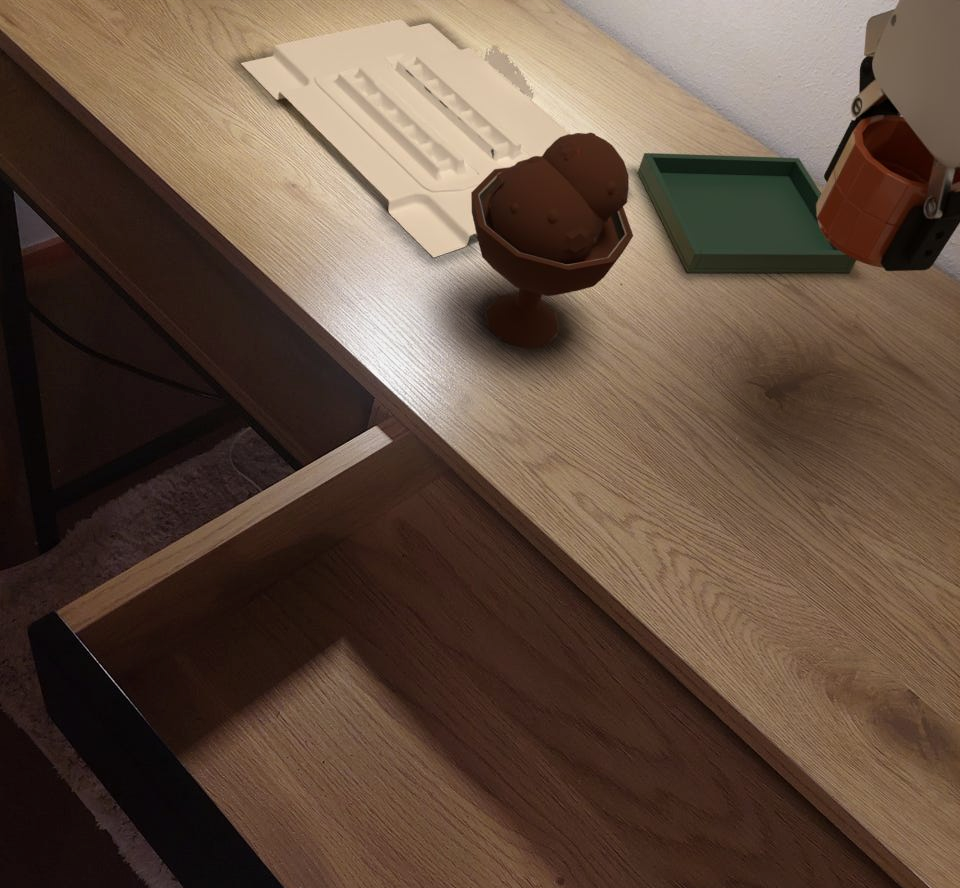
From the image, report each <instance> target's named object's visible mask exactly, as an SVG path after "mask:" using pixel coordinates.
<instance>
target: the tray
mask: <svg viewBox="0 0 960 888" xmlns="http://www.w3.org/2000/svg"><path fill="white" fill-rule="evenodd" d="M500 49H501V48H500V47H499V46H498V45H497V44H495V45H494V44H493V45H491V47H490V48H486V49H485V55H484V57H483V53H481V55H480V54H479V53H478V52H477V51H476V50H475V49H473V47H466V48H462V49H460V48H459V47H458V46H456V45H455V43H453V42H452V41H450V40H449V38H447V37H446V36H445V35H444V34H443V33H442V32H441V31H439V30H438V29H437V28H436V27H435V26H433V25H432V24H431V23H430V22H428V23H423V24H419V25H413V26H409V24H407V23H406V22H405V21H404V20H403V19H401V18H399V19H396V20H395V19H394V20H390V21H384V22H380V23H376V24H371V25H366V26H365V25H364V26H361V27H360V26H359V27H356V28H351V29H346V30H342V31H337V32H331V33H327V34H323V35H322V34H321V35H318V36H313V37H306V38H303V39H298V40H293V41H289V42H283V43H279V44H275V46H274V48H273V53H272V55H271V56H268V57H263V58H257V59H253V60H248V61H245V62H240V64H241V66H243V68H244V69H245V70H246V71H247V72H249V74H250V75H251V76H253V78H254V79H255V80H256V81H257V82H258V84H260V85H261V86H262V87H263V88H264V89H265V90H266V91H267V92H268V93H269V94H270V95H271V96H272V97H273V98H274V99H275V100H276V101H278V100H283V99H287V101H288V102H289V103H290V104H291V105H292V106H293V107H294V108H295V109H296V110H297V111H298V112H299V113H300V114H302V116H303V117H304V118H305V119H307V121H308V122H309V123H310V125H313V126H314V128H315V129H316V130H317V131H318V132H320V134H322V136H323V137H324V138H325V139H326V140H327V141H328V142H330V144H331V145H332V146H334V148H335V149H337V151H338V152H339V153H340V154H342V156H344V158H345V159H346V160H348V162H349V163H350V164H352V166H353V167H355V169H356V170H358V172H359V173H360V174H361V175H362V176H363V177H364V178H365V179H366V180H367V181H368V182H369V183H370V184H371V185H372V186H373V187H374V188H375V189H376V190H377V191H379V192H380V193H381V195H383V196H384V197H385V199H386V200H388V207H387V208H388V209H387V210H388V213H389V214H390V216H391V217H392V218H393V219H395V221H396V222H397V223H398V224H399V226H401V227H402V228H403V229H404V230H405V231H406V232H407V233H408V234H409V235H410V236H411V237H412V238H413V239H414V240H415V241H416V242H417V243H418V244H419V245H420V246H421V247H422V248H423V249H424V250H425V251H426V252H427V253H428V254H429V255H430V256H431V257H432V258H437V257H440V256H443V255H445V254H447V253H452V252H454V251H457V250H459V249H462V248H463V249H464V248H465V247H467V246H468V244H469V240H470V237H471V236H473V235H477V234H476V230H475V225H474V221H473V216H472V202H471V192H472V191H473V190H474V189H475V188H476V187H477V186H478V185H479V184H480V183H481V182H482V181H483V180H484V179H485V178H486V177H487V176H488V175H489V174H490V173H491V172H492V171H493V170H494V169H500V168H507V167H511V166H514V165H515V164H516V163H517V162H520V161H523V160H526V159H530V158H531V157H534V156H543V154H544V153H545V151H546V150H547V148H549V147H550V146H551V145H552V144H553V143H554V141H556V140H557V139H558V138H560V137H562V136H565V135H568V134H571V133H570V132H569V131H568V130H567V129H565V127H563V126H562V125H561V124H560V122H558V121H557V120H555V119H554V118H553V117H552V116H551V115H550V114H548V113H547V112H546V111H545V110H544V109H543V108H541V106H539V105H538V104H537V103H535V101H534V100H533V98H534V92H532V91H533V89H532V88H533V87H532V86H531V85H529V84H528V83H527V79H526V76H524V73H523V72H522V71H521V70H520V68H519V67H518V65H515V63H514V61H512V62H511V60H510V58H509V57H508V56H509V54H506V53H505V52H501V51H500Z"/></svg>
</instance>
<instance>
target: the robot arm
mask: <svg viewBox="0 0 960 888" xmlns="http://www.w3.org/2000/svg"><path fill="white" fill-rule="evenodd" d="M863 56H865V57H864V58H863V59H862V61H861V62H860V65H859V80H858V81H859V85H858V94H857V95H856V96H855V97H854V98H853V100H852V101H851V104H850V115H851V117H852V118H854V119H851V120H850V122H849V125H848V126H847V128H846V131H845V133H844V135H843V137H842V138H841V140H840V142H839V144H838V146H837V148H836V150H835V152H834V154H833V156H832V158H831V160H830V162H829V164H828V166H827V168H826V170H825V172H824V174H823V179H824V180H825V181H826V183H827V182H828V180H829V178H830V176H831V174H832V172H833V170H834V168H835V166H836V164H837V162H838V160H839V158H840V156H841V154H842V152H843V150H844V148H845V146H846V144H847V142H848V140H849V138H850V136H851V134H852V132H853V130H854V129H855V128H856V126H857V125H858V124H859V122H860V121H861V120H862V119H865V118H868V117H871V116H874V115H897V116H901V117H903V118H904V119H905V121H906V122H907V123H908V124H909V126H910V127H911V128H912V130H913V131H914V132H915V134H916V135H917V136H918V137H919V139H920V140H921V141H922V143H923V144H924V145H925V147H926V148H927V149H928V150H929V152H930V153H931V154H932V155H933V156H934V161H933V165H932V170H931V174H930V179H929V183H928V188H927V192H926V196H925V201H924V205H923V206H913V208H911V209H910V211H909V213H908V214H907V216H906V218H905V219H904V221H903V223H902V224H901V226H900V228H899V229H898V231H897V233H896V234H895V236H894V238H893V240H892V241H891V243H890V245H889V246H888V248H887V250H886V251H885V253H884V255H883V256H882V259H881V265H882V266H883V269H884V270H885V271H887V272H906V271H907V272H911V271H912V272H913V271H915V272H917V271H919V272H920V271H927V270H929V269H930V268H931V267H932V266H933V265H934V264H935V262H936V261H937V259H938V258H939V256H940V254H941V253H942V252H943V250H944V248H945V247H946V245H948V242H949V241H950V239H951V237H952V236H953V235H954V233H955V232H956V230H957V228H958V227H959V225H960V191H957V192H953V193H950V190H951V186H952V182H953V177H954V173H955V169H960V0H898V2H897V3H896V6H895V8H893V9H891V10H887V11H885V12H882V13H878V14H875V15H872V16H871V17H869V19H868V20H867V22H866V26H865V37H864V50H863Z"/></svg>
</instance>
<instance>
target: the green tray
mask: <svg viewBox="0 0 960 888" xmlns="http://www.w3.org/2000/svg"><path fill="white" fill-rule="evenodd" d="M637 173H638V176H639V178H640V180H641V182H642V184H643V186H644V188H645V190H646V192H647V194H648V196H649V199H650V200H651V203H652V204H653V206H654V208H655V210H656V213H657V214H658V216H659V218H660V221H661V222H662V225H663V226H664V229H665V230H666V233H667V235H668V237H669V239H670V241H671V243H672V245H673V247H674V248H675V251H676V254H677V255H678V257H679V259H680V261H681V263H682V265H683V267H684V270H685V271H686V273H687V274H689V273H692V274H693V273H695V274H696V273H697V274H698V273H699V274H700V273H703V274H704V273H705V274H707V273H709V274H711V273H713V274H714V273H715V274H717V273H718V274H719V273H720V274H721V273H726V274H728V273H729V274H730V273H732V274H736V273H737V274H739V273H740V274H741V273H745V274H746V273H747V274H748V273H749V274H750V273H755V274H757V273H758V274H759V273H764V274H765V273H766V274H768V273H769V274H770V273H772V274H775V273H793V274H795V273H798V274H799V273H801V274H802V273H807V274H809V273H813V274H815V273H816V274H817V273H819V274H820V273H829V274H830V273H835V274H837V273H838V274H839V273H843V274H844V273H847V274H849V273H851V271H852V269H853V268H854V266H855V264H856V263H857V260H855V259H853V258H851V257H849V256H847V255H846V254H844V253H843V252H841V251H840V250H838V249H837V248H836V247H834V246H833V245H832V244H831V243H830V242H829V241H828V240H827V239H826V237H825V236H824V235H823V233H822V231H821V230H820V227H819V225H818V219H817V213H816V203H817V201H818V199H819V197H820V195H821V193H822V191H820V189H819V188H818V186H817V184H816V183H815V181H814V180H813V178H812V176H811V175H810V173H809V171H808V170H807V169H806V167H805V165H804V164H803V162H802V161H801V159H800V158H799V157H778V156H777V157H776V156H774V157H773V156H749V155H717V154H716V155H715V154H714V155H713V154H693V153H692V154H689V153H687V154H686V153H663V152H661V153H659V152H658V153H657V152H656V153H655V152H644V153H643V155H642V158H641V161H640V165H639V168H638V169H637Z"/></svg>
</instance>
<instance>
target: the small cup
mask: <svg viewBox="0 0 960 888" xmlns="http://www.w3.org/2000/svg"><path fill="white" fill-rule="evenodd" d="M933 161H934V156H933V155H932V154H931V153H930V152H929V150H928V149H927V148H926V147H925V145H924V144H923V143H922V141H921V140H920V139H919V137H918V136H917V135H916V134H915V132H914V131H913V130H912V128H911V127H910V126H909V124H908V123H907V122H906V121H905V119H904V118H903V117H902V115H901V116H897V115H874V116H871V117H868V118H865V119H862V120H861V121H860V122H859V124H858V125H857V126H856V128H855V129H854V130H853V132H852V134H851V136H850V138H849V140H848V142H847V144H846V146H845V148H844V150H843V152H842V154H841V156H840V158H839V160H838V162H837V164H836V166H835V168H834V170H833V172H832V174H831V176H830V178H829V180H828V182H826V184H825V186H824V187H823V189H822V191H821V195H820V197H819V199H818V201H817V203H816V213H817V219H818V225H819V227H820V230H821V231H822V233H823V235H824V236H825V237H826V239H827V240H828V241H829V242H830V243H831V244H832V245H833V246H834V247H836V248H837V249H838V250H840V251H841V252H843V253H844V254H846V255H847V256H849V257H851V258H853V259H855V260H857V261H858V262H860V263H862V264H865V265H869V266H872V267H878V268H883V266H882V265H881V259H882V256H883V255H884V253H885V251H886V250H887V248H888V246H889V245H890V243H891V241H892V240H893V238H894V236H895V234H896V233H897V231H898V229H899V228H900V226H901V224H902V223H903V221H904V219H905V218H906V216H907V214H908V213H909V211H910V209H911V208H913V206H923V205H924V201H925V196H926V192H927V188H928V183H929V179H930V174H931V170H932V165H933ZM957 191H960V169H955V173H954V177H953V182H952V186H951V190H950V193H953V192H957ZM857 261H856V262H857ZM883 269H884V268H883Z"/></svg>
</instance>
